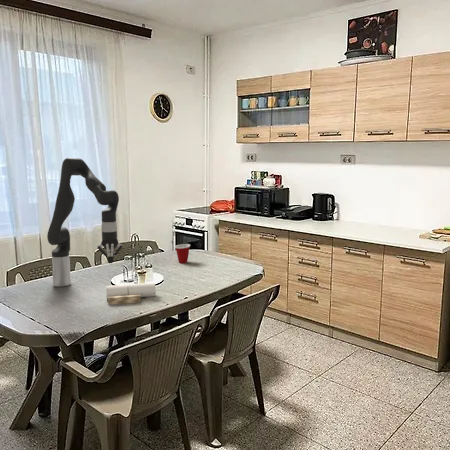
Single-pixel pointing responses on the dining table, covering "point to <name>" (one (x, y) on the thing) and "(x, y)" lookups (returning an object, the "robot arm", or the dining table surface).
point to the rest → (124, 299)
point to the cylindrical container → (132, 290)
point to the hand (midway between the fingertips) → (110, 263)
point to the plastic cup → (182, 252)
